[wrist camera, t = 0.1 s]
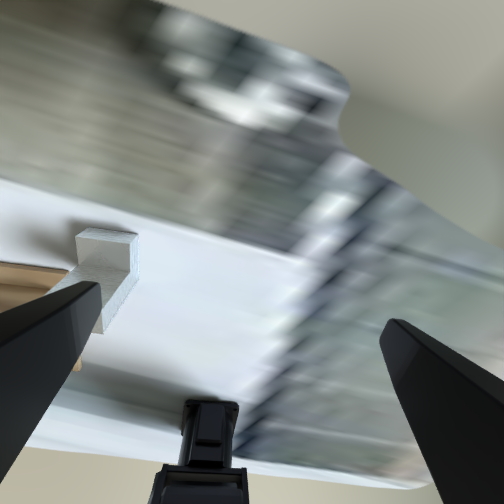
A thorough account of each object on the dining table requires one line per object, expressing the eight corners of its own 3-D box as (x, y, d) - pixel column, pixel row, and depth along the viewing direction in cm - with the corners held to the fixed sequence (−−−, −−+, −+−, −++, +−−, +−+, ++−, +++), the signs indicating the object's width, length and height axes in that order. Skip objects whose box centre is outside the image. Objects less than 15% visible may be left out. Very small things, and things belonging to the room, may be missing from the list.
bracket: (138, 279, 24) (103, 334, 18) (92, 273, 24) (40, 327, 18) (138, 234, 22) (98, 277, 16) (88, 227, 22) (27, 268, 16)
